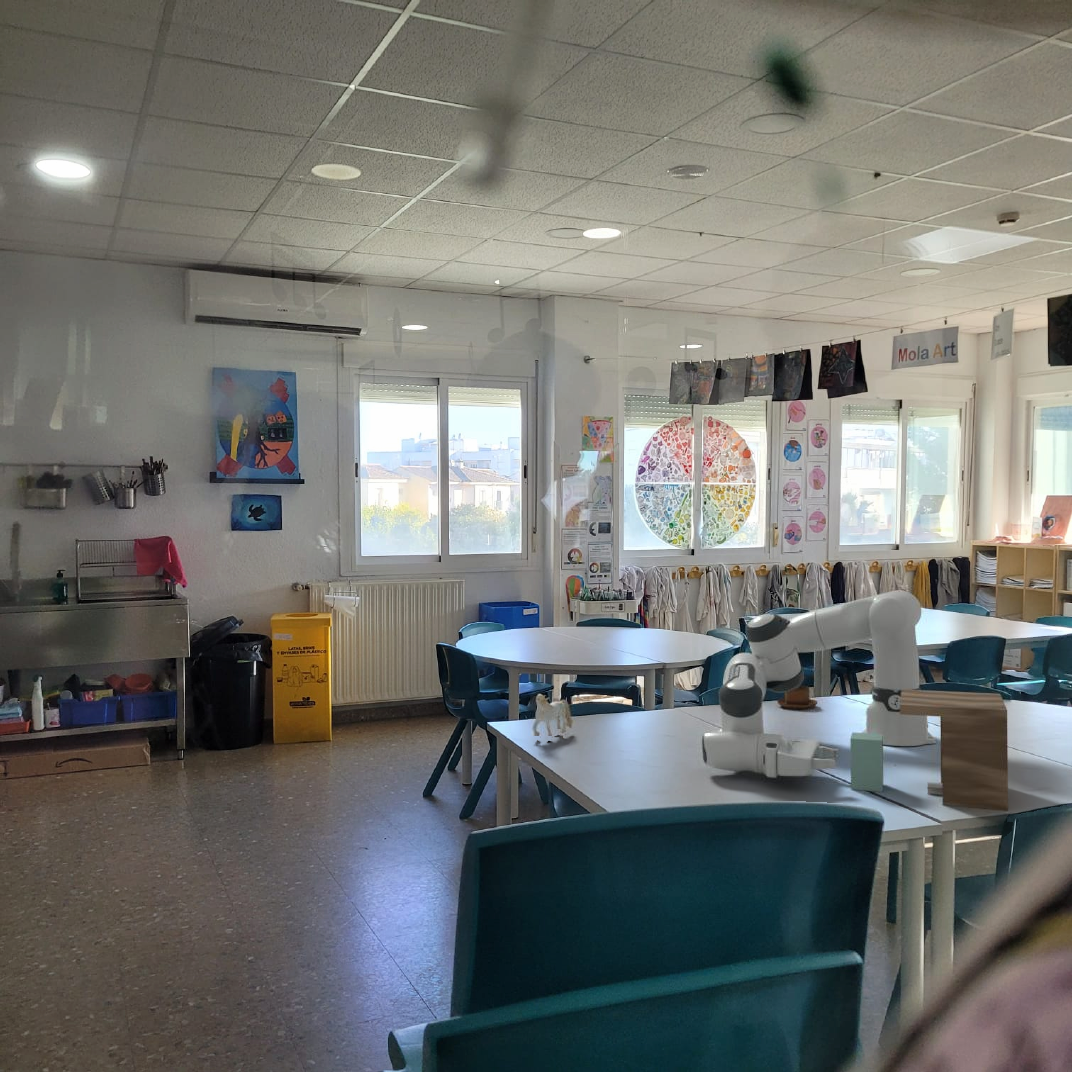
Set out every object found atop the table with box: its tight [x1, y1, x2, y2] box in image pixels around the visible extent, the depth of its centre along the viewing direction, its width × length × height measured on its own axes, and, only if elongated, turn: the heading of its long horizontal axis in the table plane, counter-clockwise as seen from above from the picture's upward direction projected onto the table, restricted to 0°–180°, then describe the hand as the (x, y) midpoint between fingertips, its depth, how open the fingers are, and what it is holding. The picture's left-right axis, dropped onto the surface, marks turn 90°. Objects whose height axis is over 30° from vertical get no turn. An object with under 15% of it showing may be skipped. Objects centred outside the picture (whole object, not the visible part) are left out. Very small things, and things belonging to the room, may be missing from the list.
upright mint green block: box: [849, 731, 884, 793], centre depth 215 cm, size 6×6×11 cm
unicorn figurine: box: [532, 693, 574, 737], centre depth 265 cm, size 7×20×13 cm, turn 159°
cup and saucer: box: [777, 685, 818, 710], centre depth 306 cm, size 12×12×6 cm
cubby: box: [900, 689, 1009, 811], centre depth 209 cm, size 19×20×20 cm
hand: (837, 758), depth 217 cm, fingers open, 8 cm apart
